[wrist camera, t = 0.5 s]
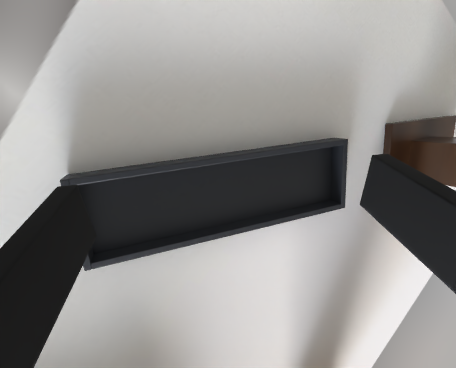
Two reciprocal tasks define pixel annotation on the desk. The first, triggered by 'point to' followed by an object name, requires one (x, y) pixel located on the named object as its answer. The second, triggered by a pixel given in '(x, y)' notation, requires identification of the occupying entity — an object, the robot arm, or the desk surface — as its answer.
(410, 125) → the stand
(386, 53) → the desk surface
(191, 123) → the desk surface
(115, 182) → the tray
